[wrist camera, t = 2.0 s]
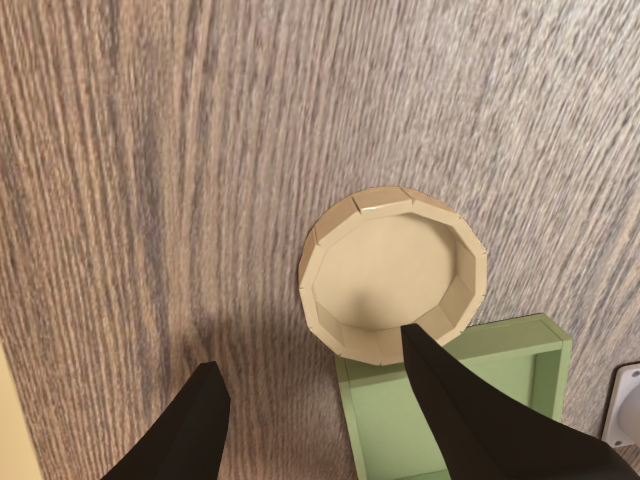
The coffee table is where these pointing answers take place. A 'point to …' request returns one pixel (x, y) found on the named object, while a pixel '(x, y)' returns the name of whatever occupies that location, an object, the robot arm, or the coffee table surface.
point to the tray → (478, 356)
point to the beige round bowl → (389, 273)
